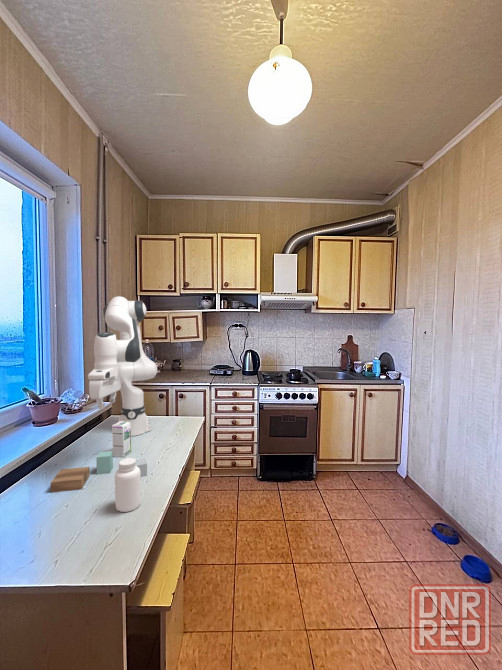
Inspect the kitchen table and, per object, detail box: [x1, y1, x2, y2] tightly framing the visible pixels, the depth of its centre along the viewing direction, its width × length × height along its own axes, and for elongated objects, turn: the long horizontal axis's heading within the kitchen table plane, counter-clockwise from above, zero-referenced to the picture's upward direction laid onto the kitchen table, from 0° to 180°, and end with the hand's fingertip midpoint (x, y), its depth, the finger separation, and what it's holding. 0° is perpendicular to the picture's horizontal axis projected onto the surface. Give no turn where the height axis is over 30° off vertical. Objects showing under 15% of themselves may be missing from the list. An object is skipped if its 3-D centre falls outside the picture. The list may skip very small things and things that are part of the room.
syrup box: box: [111, 421, 132, 458], centre depth 142 cm, size 6×6×14 cm
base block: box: [50, 466, 91, 494], centre depth 116 cm, size 10×10×4 cm
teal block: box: [96, 450, 114, 475], centre depth 126 cm, size 5×5×7 cm
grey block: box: [136, 458, 148, 478], centre depth 124 cm, size 5×5×5 cm
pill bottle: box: [114, 457, 142, 513], centre depth 103 cm, size 8×8×15 cm
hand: (106, 405), depth 128 cm, fingers open, 8 cm apart
